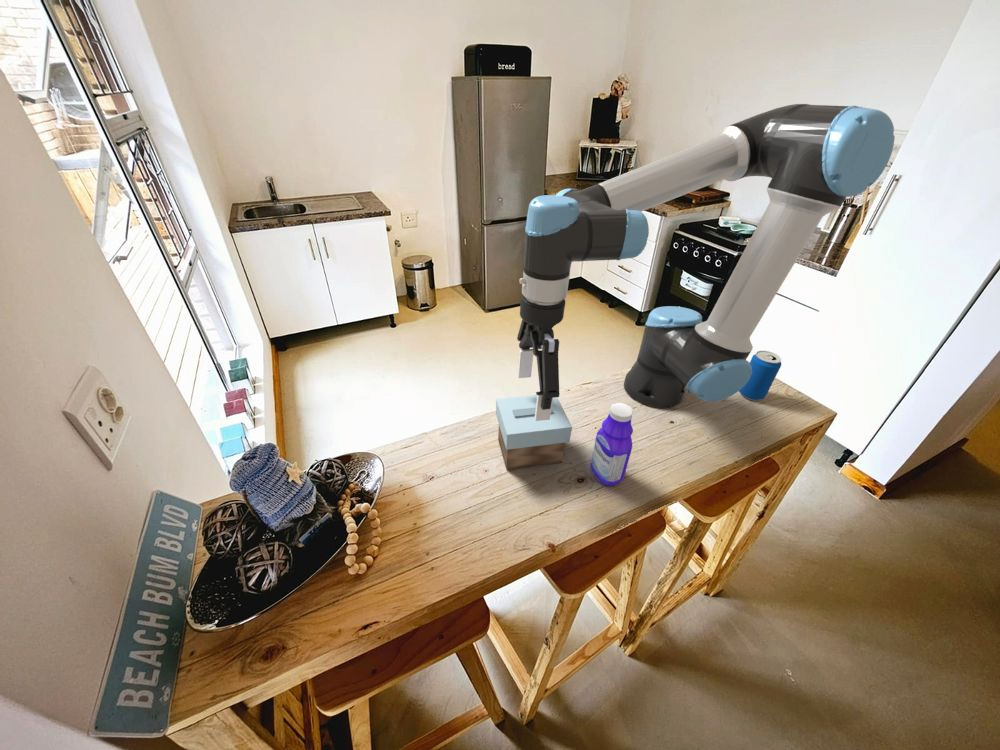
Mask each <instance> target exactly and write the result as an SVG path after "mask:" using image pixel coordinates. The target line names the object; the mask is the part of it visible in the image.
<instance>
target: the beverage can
mask: <svg viewBox="0 0 1000 750" xmlns="http://www.w3.org/2000/svg"><path fill="white" fill-rule="evenodd" d="M749 364H750V365H751V367H752V374H751V377H750V379H749V381H748V382H747V383H746V384H745V385H744V386H743V387H742V388H741V389H740V390H739V391H738V392H739V394H740V395H741V396H742V397H743V398H745V399H747V400H750V401H756V402H757V401H763V400H764V399H766V397H767V394H768V392H769V391H770V389H771V387H772V384H773V383H774V381H775V378H776V377H777V375H778V374H779V371H780V369H781V367H782V357H781V356H780V355H778V354H777V353H775V352H771V351H769V350H758V351H756V353H755V354H753V355H752V357H751V359H750V362H749Z"/></svg>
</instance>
